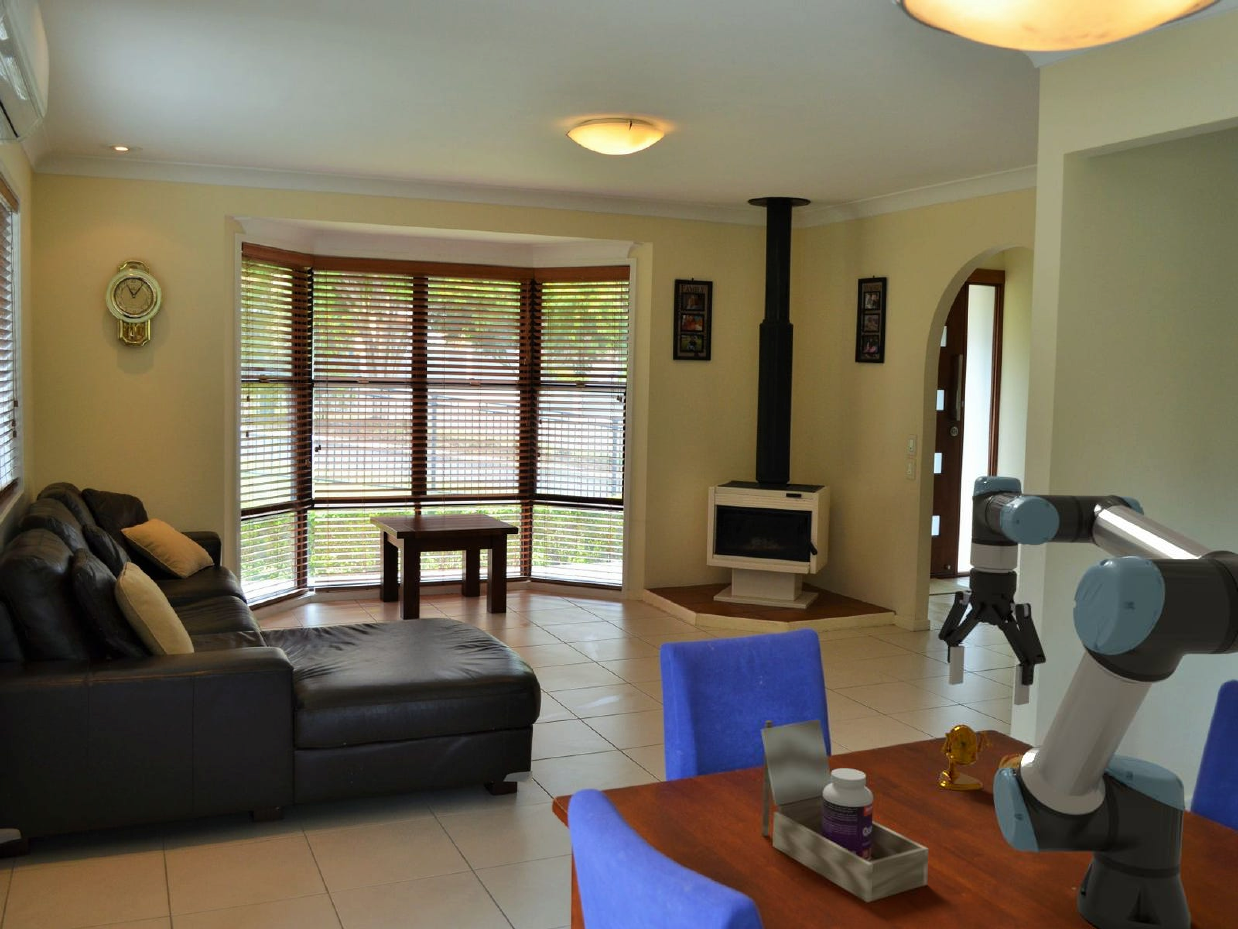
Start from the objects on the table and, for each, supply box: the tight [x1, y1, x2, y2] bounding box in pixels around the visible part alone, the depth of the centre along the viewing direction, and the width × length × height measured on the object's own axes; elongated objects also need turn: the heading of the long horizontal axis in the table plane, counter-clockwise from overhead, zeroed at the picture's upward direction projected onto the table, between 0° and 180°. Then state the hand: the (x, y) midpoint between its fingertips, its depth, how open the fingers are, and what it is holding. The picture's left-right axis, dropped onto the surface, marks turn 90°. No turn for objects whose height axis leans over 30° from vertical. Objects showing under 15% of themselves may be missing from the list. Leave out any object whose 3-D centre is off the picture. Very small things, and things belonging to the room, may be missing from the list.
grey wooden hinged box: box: [760, 718, 929, 903], centre depth 177 cm, size 28×13×20 cm, turn 31°
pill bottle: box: [821, 767, 874, 862], centre depth 175 cm, size 8×8×14 cm
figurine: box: [938, 724, 994, 792], centre depth 213 cm, size 8×11×12 cm
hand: (987, 693), depth 181 cm, fingers open, 13 cm apart
